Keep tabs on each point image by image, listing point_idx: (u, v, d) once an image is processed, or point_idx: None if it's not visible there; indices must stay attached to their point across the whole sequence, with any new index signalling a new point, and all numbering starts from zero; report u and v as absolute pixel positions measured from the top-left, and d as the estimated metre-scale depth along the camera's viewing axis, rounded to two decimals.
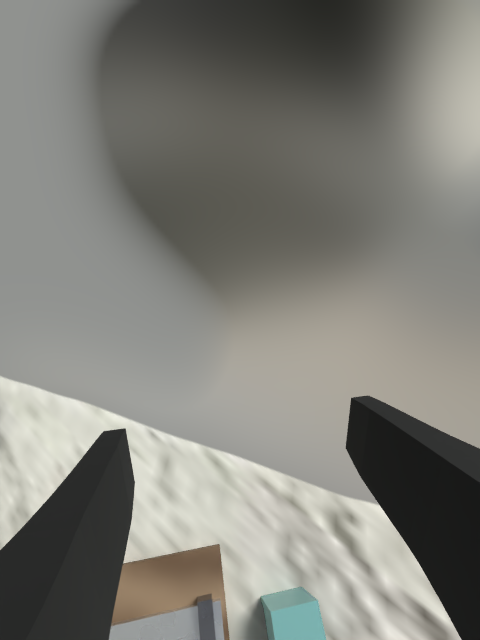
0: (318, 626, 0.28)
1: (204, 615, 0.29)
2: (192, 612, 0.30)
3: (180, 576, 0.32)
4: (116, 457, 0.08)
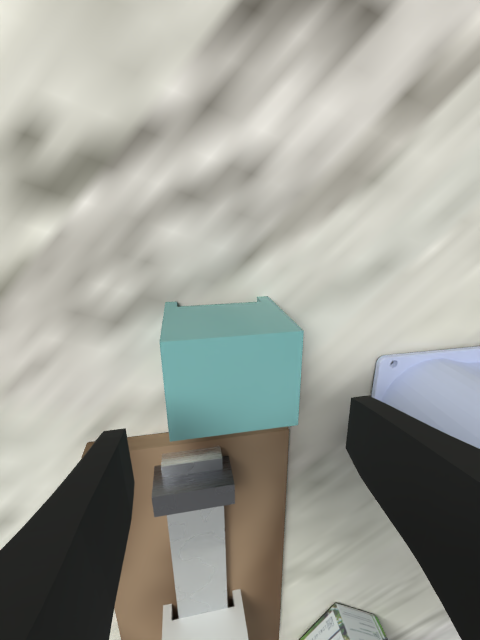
0: (207, 348, 0.12)
1: (173, 506, 0.17)
2: None
3: None
4: (116, 457, 0.08)
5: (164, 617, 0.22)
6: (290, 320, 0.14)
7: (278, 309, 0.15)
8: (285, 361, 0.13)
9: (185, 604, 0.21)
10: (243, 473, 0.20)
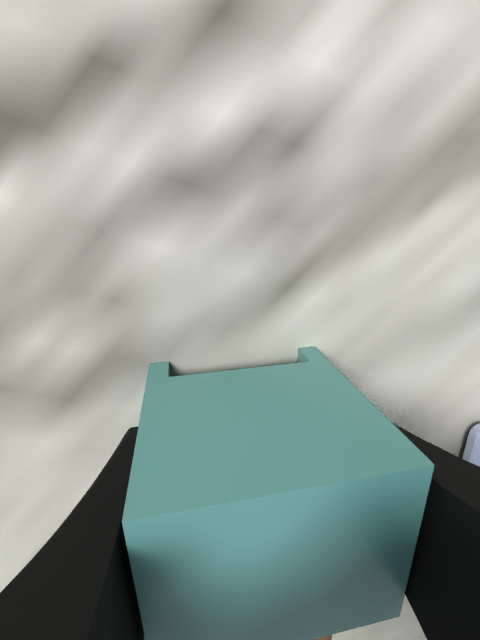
0: (232, 520, 0.05)
1: None
2: None
3: None
4: None
5: None
6: (386, 421, 0.07)
7: (347, 384, 0.09)
8: (391, 522, 0.06)
9: None
10: None
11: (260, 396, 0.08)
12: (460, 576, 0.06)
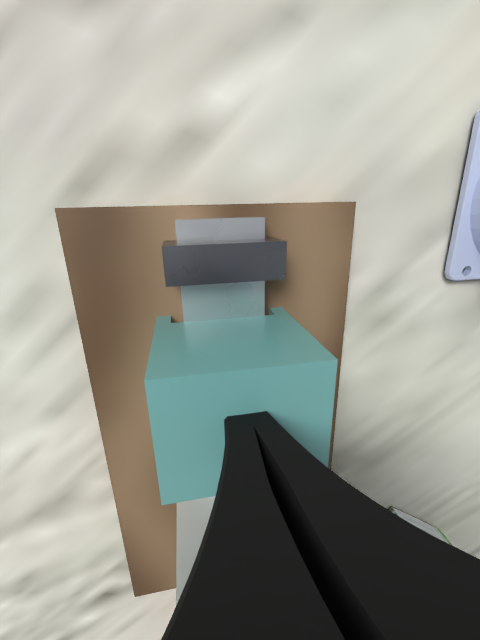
0: (209, 387, 0.09)
1: (194, 269, 0.11)
2: (191, 292, 0.13)
3: (125, 314, 0.13)
4: None
5: None
6: (316, 342, 0.11)
7: (298, 325, 0.12)
8: (313, 400, 0.10)
9: None
10: (290, 271, 0.14)
11: (235, 332, 0.12)
12: None
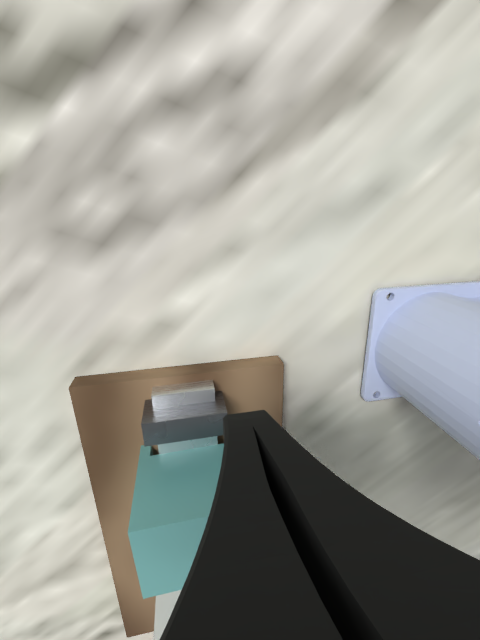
0: (169, 531, 0.14)
1: (163, 434, 0.16)
2: None
3: (118, 446, 0.19)
4: None
5: None
6: None
7: None
8: None
9: None
10: (238, 410, 0.19)
11: (193, 469, 0.17)
12: None
